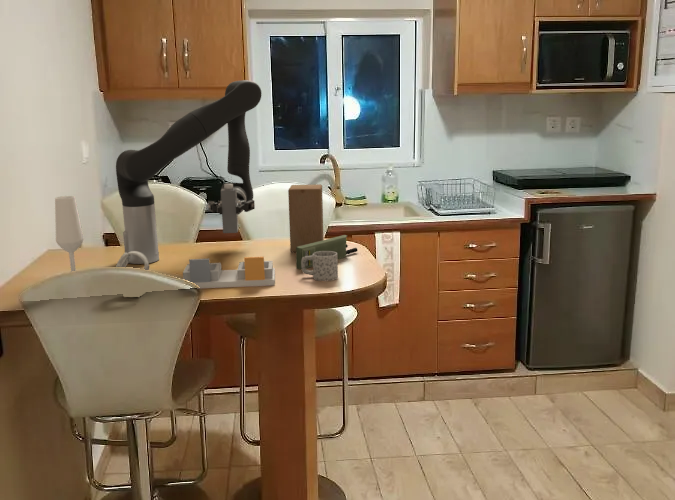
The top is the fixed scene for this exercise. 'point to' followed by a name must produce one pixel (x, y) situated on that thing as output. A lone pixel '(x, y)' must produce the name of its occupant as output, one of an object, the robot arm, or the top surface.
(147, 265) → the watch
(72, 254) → the champagne flute
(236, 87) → the robot arm
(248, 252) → the top surface
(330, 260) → the mug
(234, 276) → the charging dock
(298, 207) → the wooden block
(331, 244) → the handheld radio
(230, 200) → the plug
